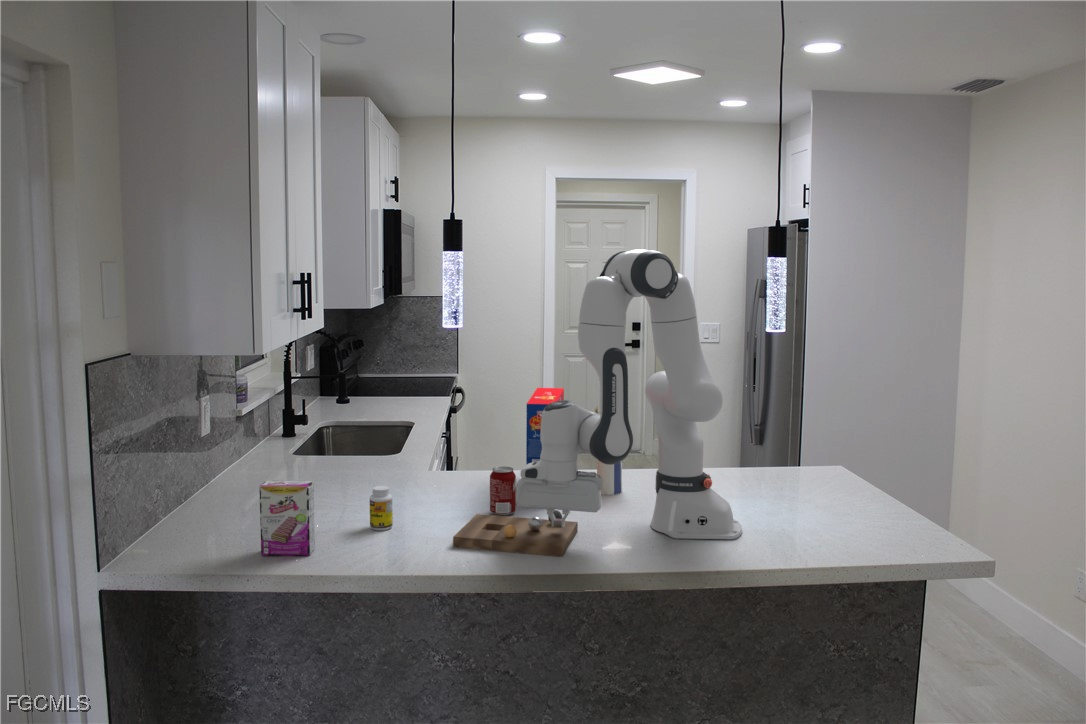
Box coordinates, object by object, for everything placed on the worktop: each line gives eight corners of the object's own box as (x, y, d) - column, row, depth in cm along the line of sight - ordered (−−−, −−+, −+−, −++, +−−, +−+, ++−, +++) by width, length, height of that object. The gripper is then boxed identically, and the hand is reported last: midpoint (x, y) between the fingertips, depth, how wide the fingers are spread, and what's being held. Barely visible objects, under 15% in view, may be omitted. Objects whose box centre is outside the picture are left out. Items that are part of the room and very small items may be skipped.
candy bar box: (260, 557, 192) (257, 485, 190) (266, 549, 197) (264, 480, 195) (310, 556, 192) (308, 485, 190) (315, 549, 197) (313, 479, 195)
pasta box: (555, 505, 233) (556, 404, 230) (526, 504, 234) (526, 403, 230) (562, 478, 261) (563, 388, 257) (536, 478, 261) (537, 387, 258)
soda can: (512, 518, 222) (512, 472, 220) (487, 516, 223) (486, 471, 221) (518, 510, 228) (518, 466, 227) (493, 508, 229) (493, 465, 228)
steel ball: (544, 528, 205) (544, 515, 205) (540, 533, 202) (540, 519, 201) (530, 527, 206) (530, 514, 205) (526, 532, 202) (526, 518, 202)
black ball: (563, 522, 210) (563, 509, 210) (560, 526, 207) (560, 513, 206) (549, 521, 211) (550, 508, 210) (546, 525, 207) (546, 512, 207)
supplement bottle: (365, 529, 212) (364, 488, 211) (380, 523, 217) (379, 483, 215) (382, 532, 209) (382, 492, 208) (397, 526, 214) (396, 486, 213)
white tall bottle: (609, 497, 241) (610, 409, 238) (588, 490, 248) (589, 405, 245) (630, 492, 246) (631, 406, 243) (609, 485, 253) (610, 402, 250)
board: (577, 531, 211) (577, 521, 210) (562, 556, 193) (562, 545, 193) (476, 523, 217) (476, 514, 216) (453, 547, 199) (453, 536, 199)
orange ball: (518, 535, 200) (518, 523, 199) (514, 540, 197) (514, 527, 196) (505, 534, 200) (505, 522, 200) (502, 539, 198) (502, 526, 197)
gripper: (604, 469, 201) (603, 526, 203) (520, 464, 206) (520, 519, 207) (600, 476, 195) (599, 534, 197) (513, 470, 200) (513, 527, 201)
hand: (558, 527), depth 202 cm, fingers closed
